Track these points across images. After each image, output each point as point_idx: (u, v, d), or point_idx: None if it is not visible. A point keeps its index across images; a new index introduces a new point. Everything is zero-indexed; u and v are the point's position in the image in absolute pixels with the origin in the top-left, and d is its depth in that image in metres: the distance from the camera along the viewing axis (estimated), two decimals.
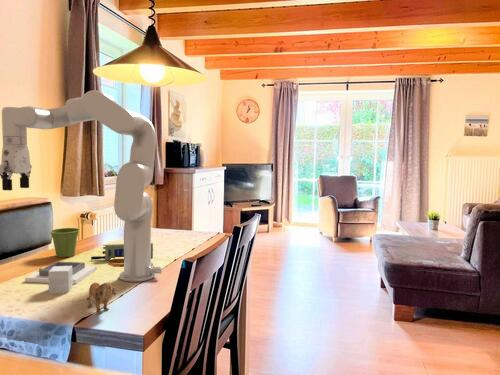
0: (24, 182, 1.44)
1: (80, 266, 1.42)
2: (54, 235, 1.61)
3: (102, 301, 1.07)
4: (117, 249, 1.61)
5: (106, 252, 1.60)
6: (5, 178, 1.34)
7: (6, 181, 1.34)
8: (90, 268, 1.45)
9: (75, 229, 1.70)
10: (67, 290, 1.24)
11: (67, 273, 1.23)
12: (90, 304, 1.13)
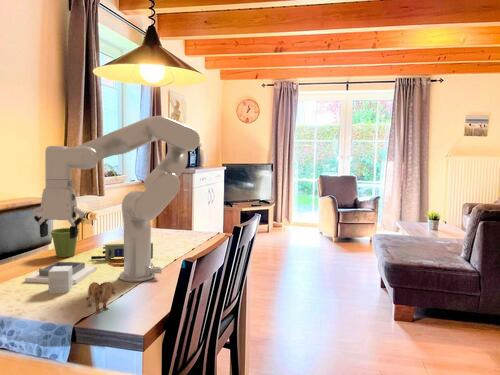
0: (45, 230, 1.24)
1: (80, 266, 1.42)
2: (54, 235, 1.61)
3: (101, 300, 1.08)
4: (117, 249, 1.62)
5: (106, 252, 1.61)
6: (77, 224, 1.24)
7: (77, 227, 1.24)
8: (90, 268, 1.45)
9: None
10: (67, 290, 1.24)
11: (67, 273, 1.23)
12: (89, 304, 1.13)
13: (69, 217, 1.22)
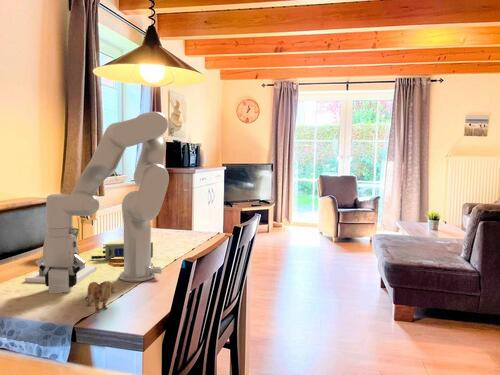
0: None
1: None
2: None
3: (101, 300, 1.08)
4: (117, 248, 1.62)
5: (106, 251, 1.61)
6: (76, 273, 1.26)
7: (75, 276, 1.26)
8: (90, 268, 1.45)
9: None
10: (67, 290, 1.24)
11: (67, 273, 1.23)
12: (89, 303, 1.14)
13: (70, 265, 1.23)
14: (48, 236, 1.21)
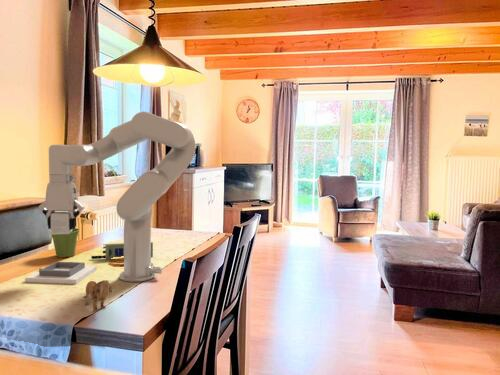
0: None
1: (80, 266, 1.42)
2: (54, 235, 1.61)
3: (99, 299, 1.09)
4: (117, 248, 1.63)
5: (106, 251, 1.62)
6: (75, 217, 1.38)
7: (75, 219, 1.38)
8: (90, 268, 1.45)
9: (75, 229, 1.70)
10: (67, 232, 1.36)
11: (68, 216, 1.36)
12: (87, 302, 1.15)
13: (71, 208, 1.36)
14: (50, 182, 1.34)
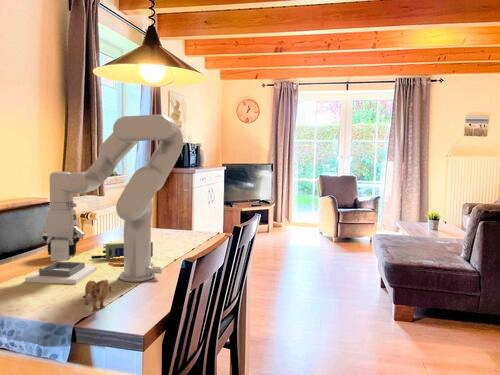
0: None
1: (80, 266, 1.42)
2: None
3: (99, 298, 1.09)
4: (117, 248, 1.63)
5: (106, 251, 1.62)
6: (75, 243, 1.39)
7: (75, 246, 1.39)
8: (90, 268, 1.45)
9: None
10: (67, 258, 1.37)
11: (67, 243, 1.37)
12: (86, 302, 1.15)
13: (70, 235, 1.37)
14: (51, 209, 1.35)
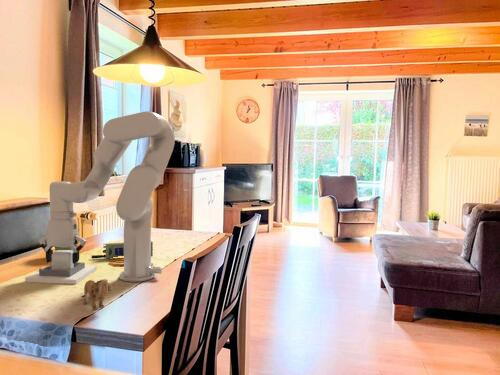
0: (51, 255, 1.40)
1: (80, 266, 1.42)
2: None
3: (98, 298, 1.10)
4: (117, 248, 1.63)
5: (107, 251, 1.62)
6: (79, 250, 1.39)
7: (78, 253, 1.40)
8: (90, 268, 1.45)
9: None
10: None
11: (68, 256, 1.37)
12: (85, 301, 1.15)
13: (71, 245, 1.37)
14: (51, 219, 1.35)
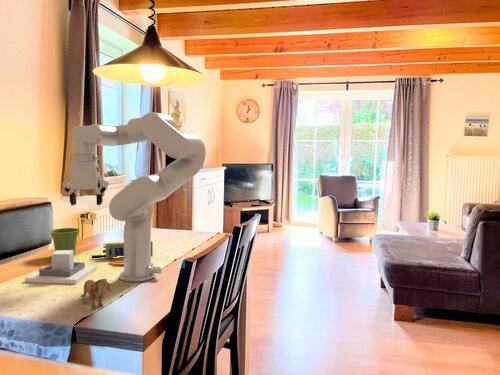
0: (74, 199, 1.45)
1: (80, 266, 1.42)
2: (54, 235, 1.61)
3: (97, 297, 1.10)
4: (118, 248, 1.64)
5: (107, 251, 1.63)
6: (102, 193, 1.45)
7: (102, 196, 1.45)
8: (90, 268, 1.45)
9: (75, 229, 1.70)
10: None
11: (68, 256, 1.37)
12: (85, 301, 1.16)
13: (95, 186, 1.42)
14: (75, 161, 1.40)
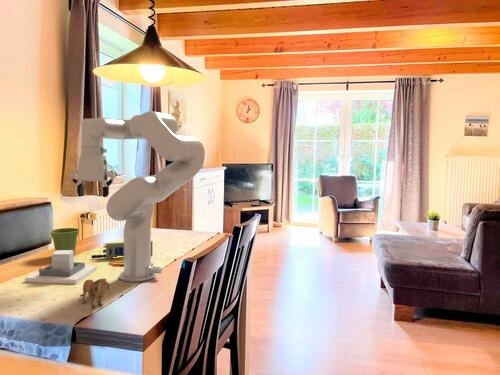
0: (82, 190, 1.48)
1: (80, 266, 1.42)
2: (54, 235, 1.61)
3: (97, 297, 1.10)
4: (118, 247, 1.64)
5: (107, 250, 1.63)
6: (108, 185, 1.47)
7: (108, 188, 1.47)
8: (90, 268, 1.45)
9: (75, 229, 1.70)
10: None
11: (68, 256, 1.37)
12: (84, 300, 1.16)
13: (102, 179, 1.45)
14: (83, 153, 1.43)
